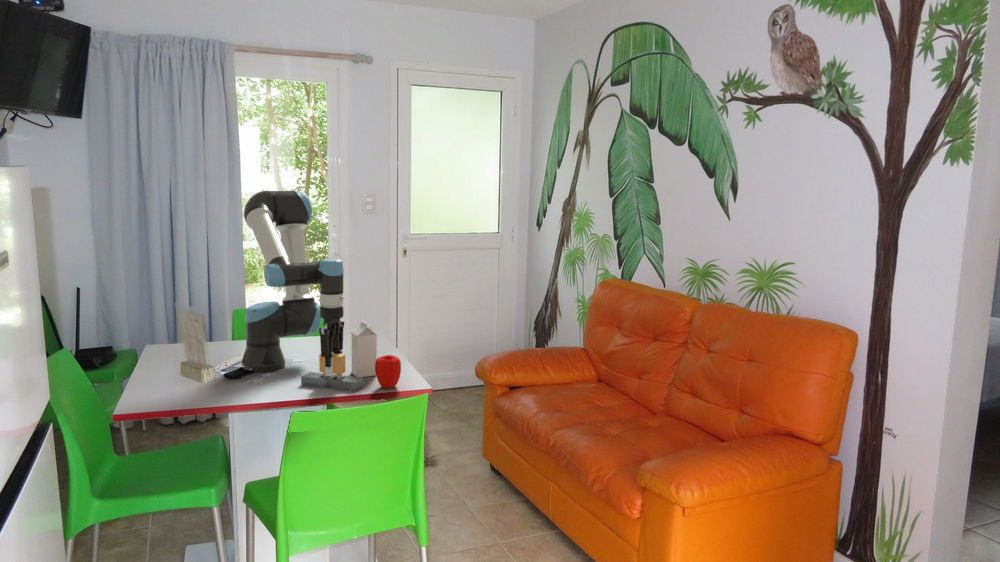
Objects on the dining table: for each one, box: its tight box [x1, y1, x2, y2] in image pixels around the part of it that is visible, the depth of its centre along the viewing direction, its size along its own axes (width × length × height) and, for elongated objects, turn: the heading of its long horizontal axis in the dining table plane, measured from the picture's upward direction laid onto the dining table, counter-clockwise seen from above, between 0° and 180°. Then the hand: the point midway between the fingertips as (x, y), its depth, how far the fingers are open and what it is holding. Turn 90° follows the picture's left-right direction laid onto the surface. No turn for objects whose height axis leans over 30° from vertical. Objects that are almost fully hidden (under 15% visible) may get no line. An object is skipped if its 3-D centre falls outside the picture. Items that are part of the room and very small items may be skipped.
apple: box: [375, 354, 402, 389], centre depth 239 cm, size 9×9×11 cm
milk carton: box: [351, 320, 378, 378], centre depth 253 cm, size 7×7×19 cm
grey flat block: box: [300, 371, 365, 392], centre depth 240 cm, size 20×6×3 cm, turn 75°
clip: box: [318, 352, 346, 380], centre depth 239 cm, size 8×3×10 cm, turn 75°
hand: (332, 374), depth 239 cm, fingers open, 3 cm apart
